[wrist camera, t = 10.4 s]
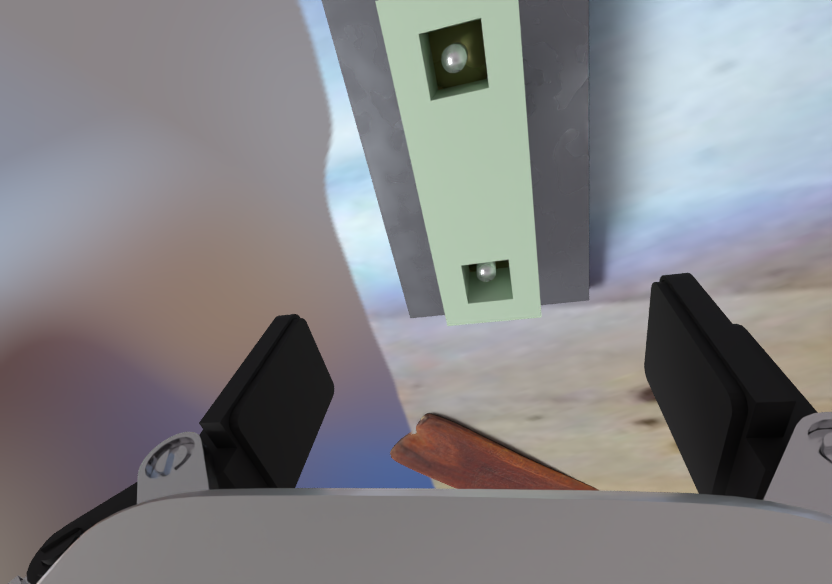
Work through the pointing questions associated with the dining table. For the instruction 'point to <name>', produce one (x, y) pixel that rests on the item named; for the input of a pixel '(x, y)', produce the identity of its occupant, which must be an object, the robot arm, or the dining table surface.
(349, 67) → the base plate
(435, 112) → the slotted bar
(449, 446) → the wooden tablet
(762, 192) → the dining table surface
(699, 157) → the dining table surface
